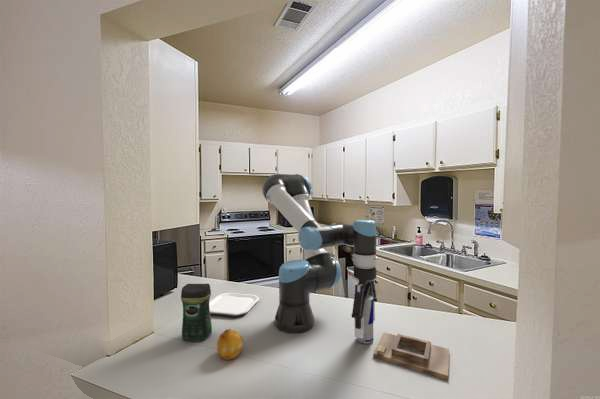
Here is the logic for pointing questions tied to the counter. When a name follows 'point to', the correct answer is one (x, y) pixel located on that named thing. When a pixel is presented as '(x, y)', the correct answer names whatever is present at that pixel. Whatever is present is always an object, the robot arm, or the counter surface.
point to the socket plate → (414, 354)
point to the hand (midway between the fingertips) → (365, 327)
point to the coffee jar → (196, 312)
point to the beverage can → (368, 321)
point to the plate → (232, 304)
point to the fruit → (229, 344)
